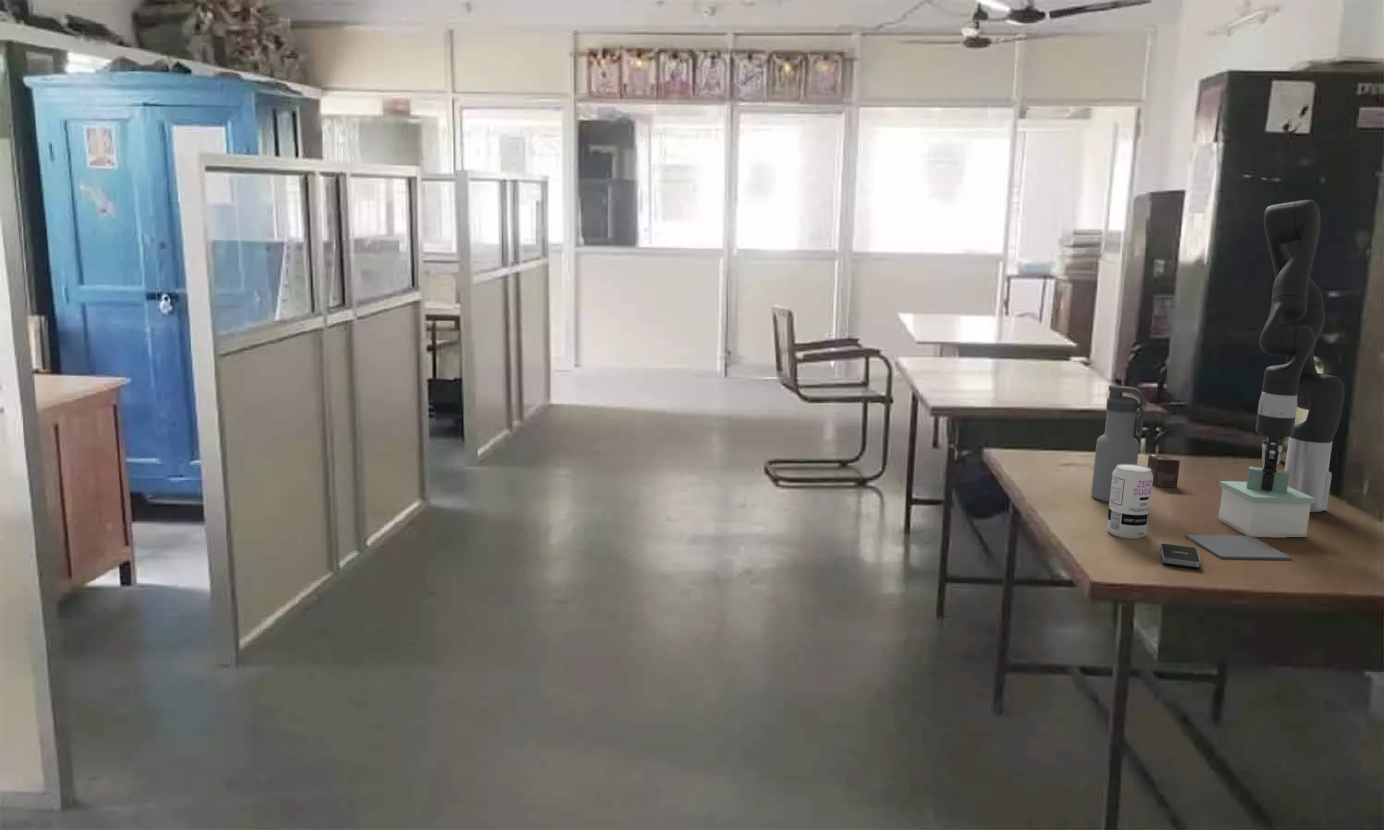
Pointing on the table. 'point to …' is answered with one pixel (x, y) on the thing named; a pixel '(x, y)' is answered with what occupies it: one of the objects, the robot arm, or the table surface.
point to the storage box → (1264, 517)
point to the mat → (1237, 547)
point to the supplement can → (1130, 501)
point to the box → (1164, 470)
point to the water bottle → (1117, 438)
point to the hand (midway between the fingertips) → (1266, 488)
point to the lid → (1256, 494)
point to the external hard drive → (1180, 556)
